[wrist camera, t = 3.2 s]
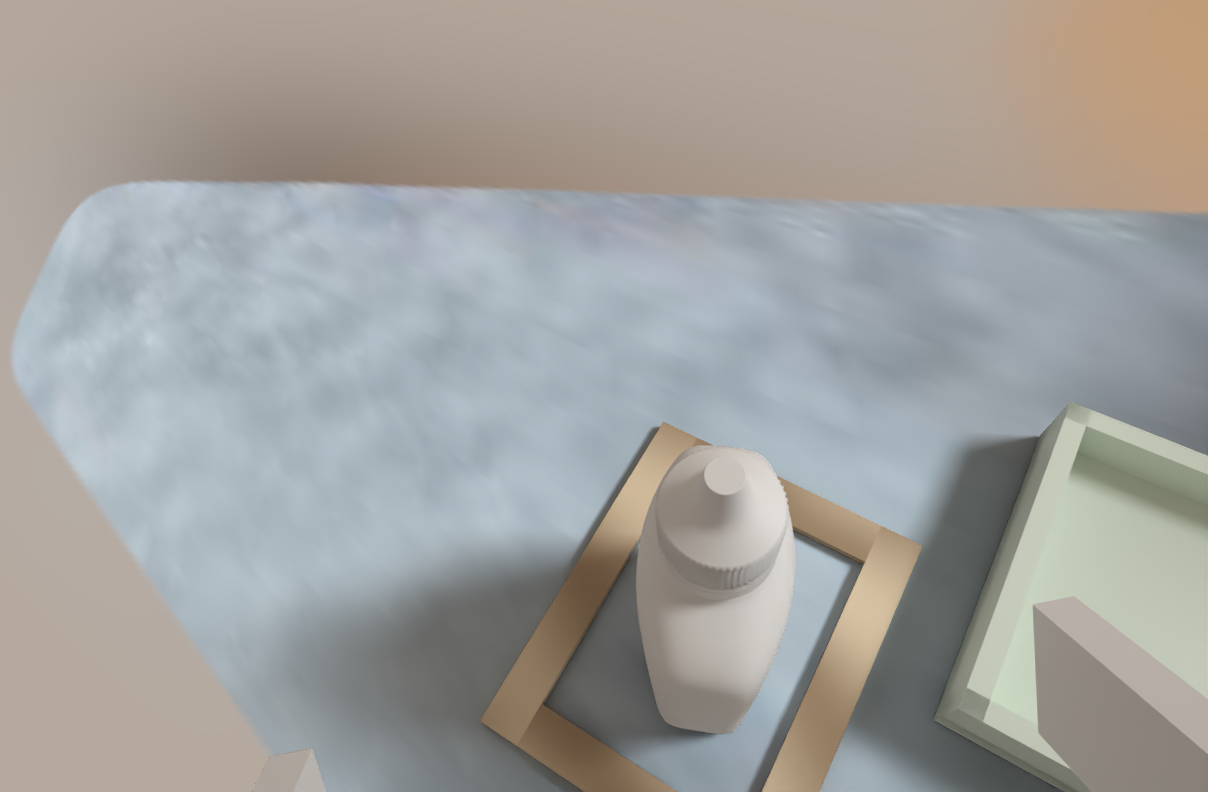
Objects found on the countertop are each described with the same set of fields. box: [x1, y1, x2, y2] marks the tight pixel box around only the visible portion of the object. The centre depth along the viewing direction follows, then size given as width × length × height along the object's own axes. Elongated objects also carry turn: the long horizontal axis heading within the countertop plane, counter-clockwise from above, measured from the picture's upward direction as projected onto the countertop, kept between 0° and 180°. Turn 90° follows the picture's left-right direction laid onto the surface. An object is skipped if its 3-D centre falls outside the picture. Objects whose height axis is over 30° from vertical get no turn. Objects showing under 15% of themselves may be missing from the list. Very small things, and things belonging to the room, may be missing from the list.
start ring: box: [480, 422, 922, 792], centre depth 23 cm, size 11×9×1 cm
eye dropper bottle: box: [636, 445, 795, 734], centre depth 18 cm, size 4×6×12 cm
